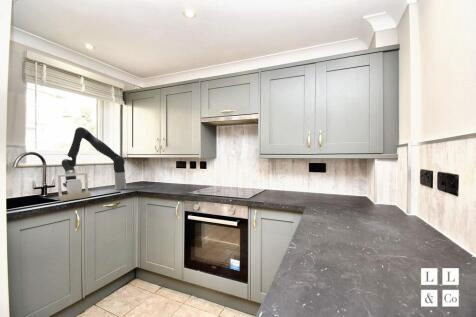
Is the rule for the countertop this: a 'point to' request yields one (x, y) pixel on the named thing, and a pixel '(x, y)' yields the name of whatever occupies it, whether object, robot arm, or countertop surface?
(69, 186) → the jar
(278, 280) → the countertop surface
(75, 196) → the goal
